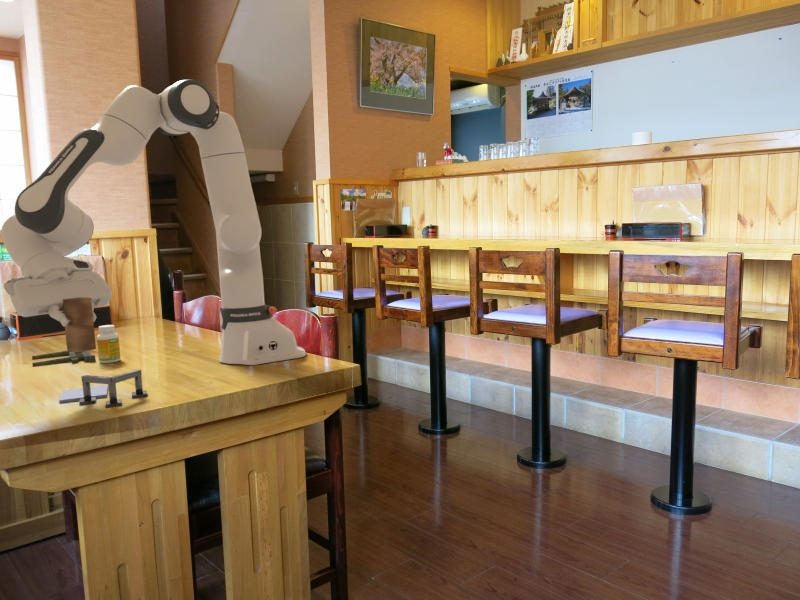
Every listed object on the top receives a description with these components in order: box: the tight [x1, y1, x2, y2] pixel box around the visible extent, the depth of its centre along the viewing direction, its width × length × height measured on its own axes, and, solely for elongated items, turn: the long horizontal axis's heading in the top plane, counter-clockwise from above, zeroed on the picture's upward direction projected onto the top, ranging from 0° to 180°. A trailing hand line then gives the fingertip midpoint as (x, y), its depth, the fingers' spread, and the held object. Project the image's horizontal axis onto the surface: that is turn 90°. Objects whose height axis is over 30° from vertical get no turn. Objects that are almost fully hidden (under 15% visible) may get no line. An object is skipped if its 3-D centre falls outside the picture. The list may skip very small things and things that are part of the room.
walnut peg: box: [62, 297, 97, 352], centre depth 139 cm, size 4×4×11 cm
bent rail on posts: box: [78, 369, 148, 408], centre depth 136 cm, size 13×8×6 cm, turn 112°
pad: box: [58, 384, 109, 404], centre depth 143 cm, size 9×9×1 cm
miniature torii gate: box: [31, 350, 97, 367], centre depth 185 cm, size 22×2×15 cm
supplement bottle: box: [96, 324, 121, 364], centre depth 178 cm, size 5×5×10 cm
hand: (80, 322), depth 139 cm, fingers closed on walnut peg, 4 cm apart
